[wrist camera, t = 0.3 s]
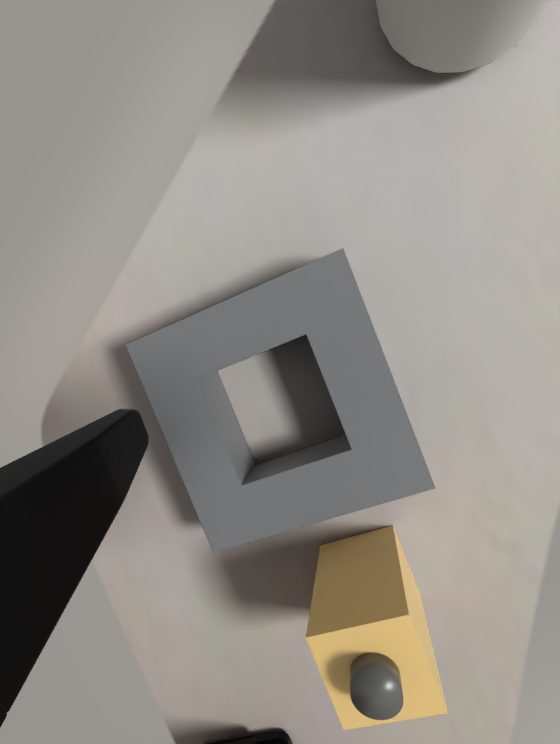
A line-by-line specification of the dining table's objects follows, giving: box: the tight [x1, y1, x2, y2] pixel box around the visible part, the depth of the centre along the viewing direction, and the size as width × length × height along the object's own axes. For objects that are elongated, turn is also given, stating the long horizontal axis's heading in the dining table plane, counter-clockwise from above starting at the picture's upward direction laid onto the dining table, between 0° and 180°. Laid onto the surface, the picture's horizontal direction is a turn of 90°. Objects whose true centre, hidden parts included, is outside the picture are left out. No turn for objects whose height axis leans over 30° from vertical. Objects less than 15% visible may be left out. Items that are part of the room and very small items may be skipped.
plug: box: [306, 526, 448, 730], centre depth 19 cm, size 4×4×8 cm
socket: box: [126, 248, 435, 553], centre depth 21 cm, size 12×12×3 cm
